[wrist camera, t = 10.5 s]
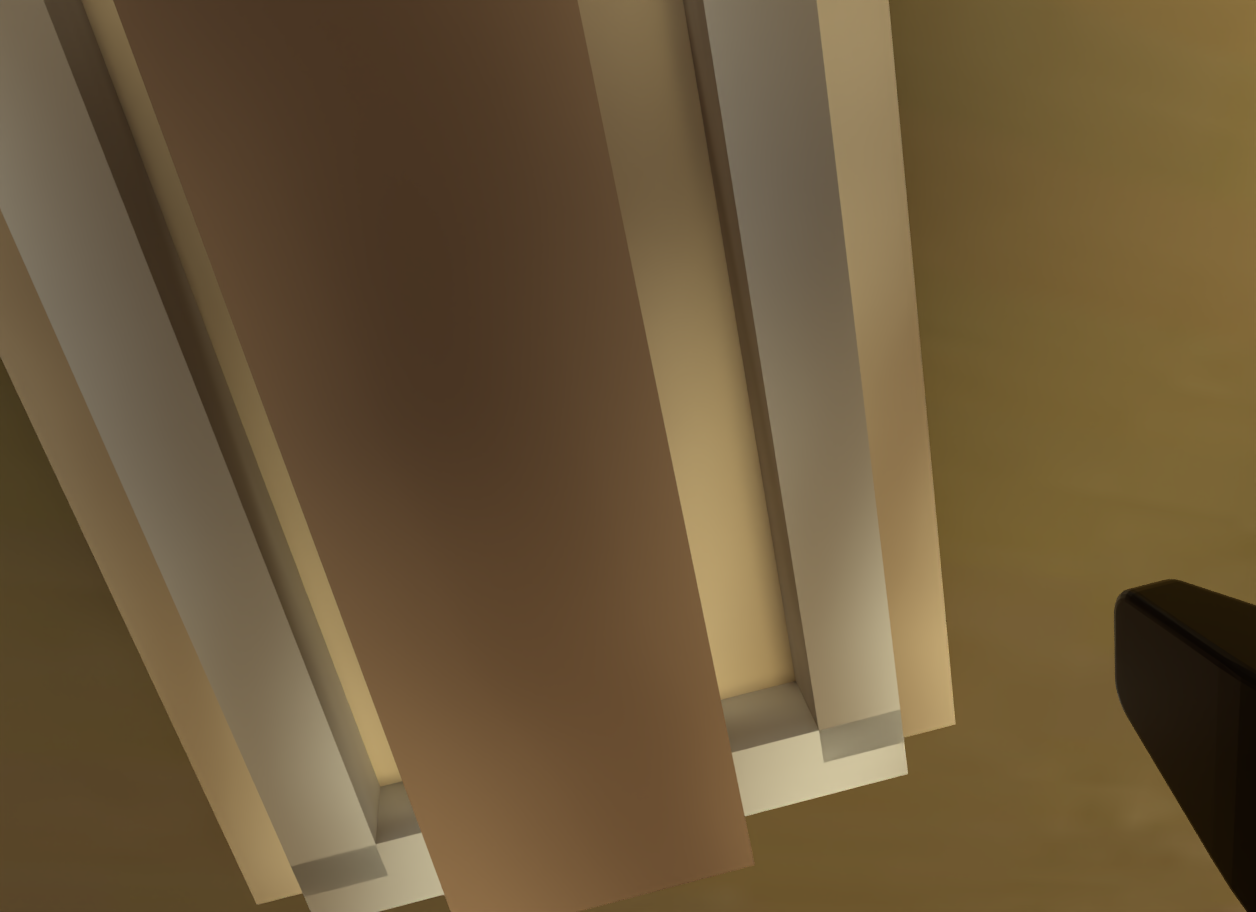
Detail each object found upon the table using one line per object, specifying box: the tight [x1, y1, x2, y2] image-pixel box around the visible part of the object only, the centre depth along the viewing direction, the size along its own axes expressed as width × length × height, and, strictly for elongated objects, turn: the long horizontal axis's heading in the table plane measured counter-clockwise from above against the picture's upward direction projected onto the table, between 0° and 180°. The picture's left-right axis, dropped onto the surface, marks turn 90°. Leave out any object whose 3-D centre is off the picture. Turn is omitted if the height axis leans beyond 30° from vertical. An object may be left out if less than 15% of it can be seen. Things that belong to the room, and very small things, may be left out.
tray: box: [0, 0, 955, 912], centre depth 18 cm, size 14×20×2 cm
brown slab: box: [113, 0, 755, 912], centre depth 15 cm, size 4×12×6 cm, turn 11°
